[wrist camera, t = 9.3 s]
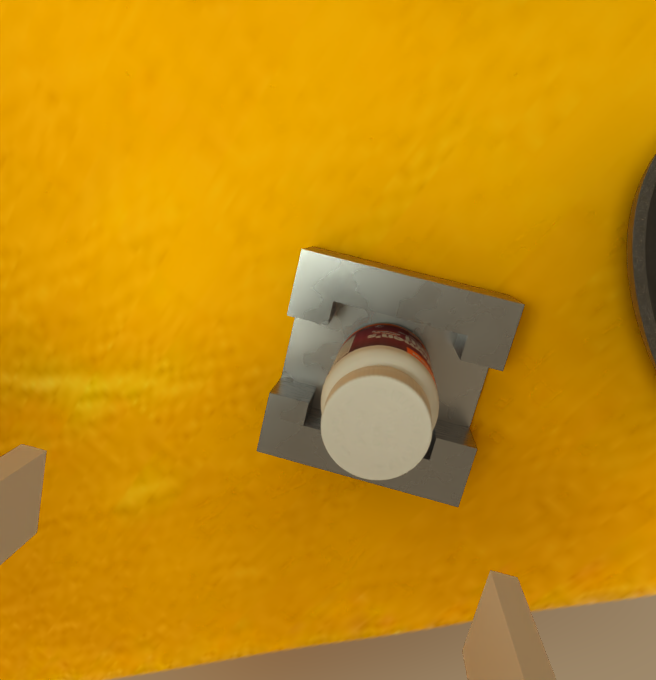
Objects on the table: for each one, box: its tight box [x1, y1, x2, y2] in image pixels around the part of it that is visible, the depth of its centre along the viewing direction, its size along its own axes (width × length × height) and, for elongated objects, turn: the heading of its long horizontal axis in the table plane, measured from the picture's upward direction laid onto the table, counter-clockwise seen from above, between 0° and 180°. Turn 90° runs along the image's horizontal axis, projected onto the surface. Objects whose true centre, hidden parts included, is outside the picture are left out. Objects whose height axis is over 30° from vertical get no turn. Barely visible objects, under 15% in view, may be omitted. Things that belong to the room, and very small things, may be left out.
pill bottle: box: [321, 323, 439, 480], centre depth 30 cm, size 6×6×11 cm
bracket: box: [257, 246, 524, 507], centre depth 34 cm, size 13×13×4 cm
